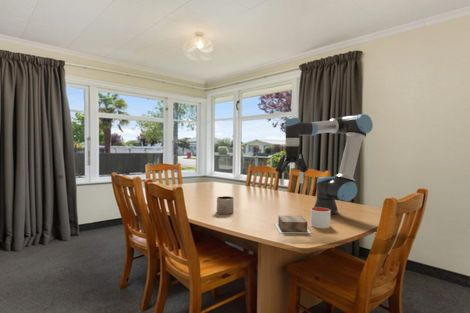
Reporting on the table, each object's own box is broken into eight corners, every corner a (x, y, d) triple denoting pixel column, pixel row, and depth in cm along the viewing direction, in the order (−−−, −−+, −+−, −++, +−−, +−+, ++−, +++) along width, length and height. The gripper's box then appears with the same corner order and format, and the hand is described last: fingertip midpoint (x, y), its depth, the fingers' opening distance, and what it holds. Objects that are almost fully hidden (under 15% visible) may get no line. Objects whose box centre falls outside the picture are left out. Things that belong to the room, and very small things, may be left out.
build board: (303, 226, 146) (303, 223, 146) (312, 236, 130) (312, 233, 130) (273, 226, 146) (274, 223, 146) (278, 236, 130) (278, 233, 130)
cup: (307, 225, 149) (307, 207, 148) (325, 225, 150) (325, 207, 149) (314, 231, 139) (314, 211, 138) (333, 231, 140) (333, 211, 139)
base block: (301, 225, 144) (301, 215, 144) (307, 232, 132) (307, 222, 132) (278, 224, 144) (278, 215, 144) (282, 232, 132) (282, 221, 132)
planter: (213, 213, 173) (213, 198, 173) (221, 209, 183) (221, 195, 183) (229, 215, 169) (229, 199, 168) (236, 211, 179) (236, 196, 179)
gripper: (305, 145, 160) (304, 181, 161) (269, 145, 149) (269, 184, 150) (314, 145, 153) (313, 183, 154) (277, 145, 142) (276, 186, 143)
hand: (291, 184), depth 152 cm, fingers open, 13 cm apart
